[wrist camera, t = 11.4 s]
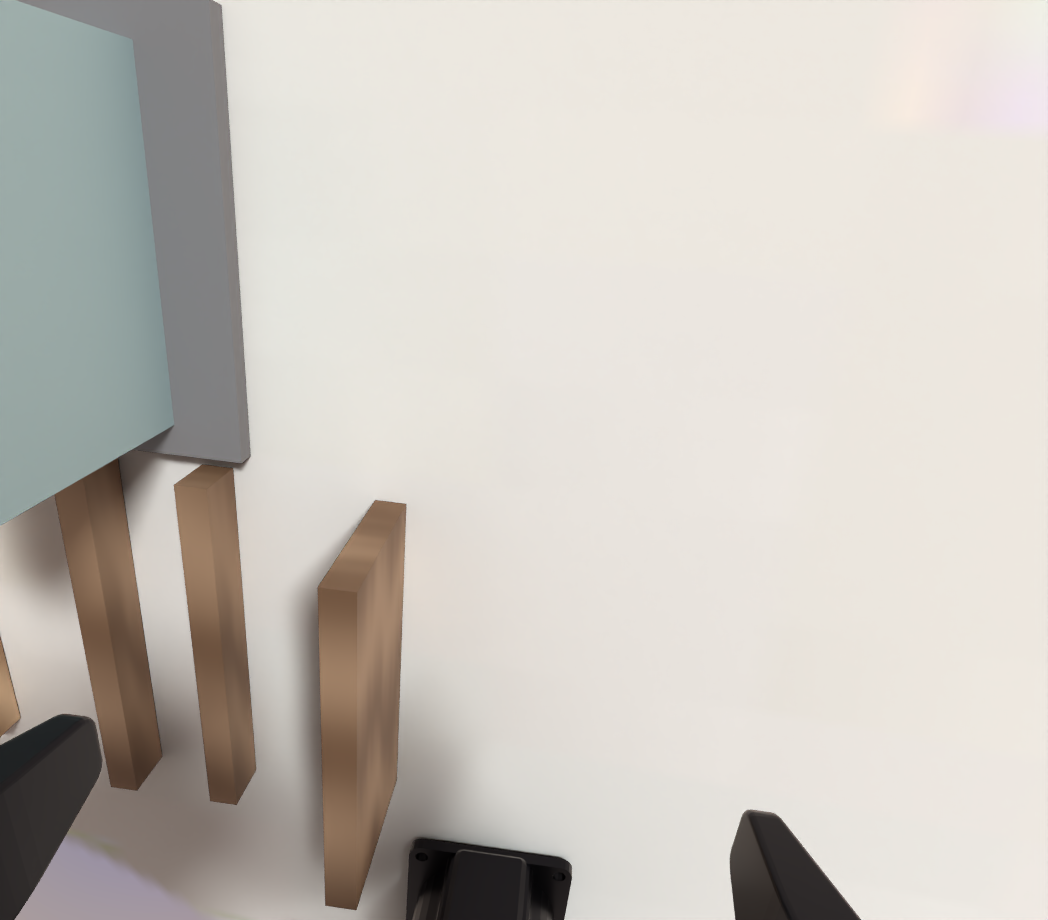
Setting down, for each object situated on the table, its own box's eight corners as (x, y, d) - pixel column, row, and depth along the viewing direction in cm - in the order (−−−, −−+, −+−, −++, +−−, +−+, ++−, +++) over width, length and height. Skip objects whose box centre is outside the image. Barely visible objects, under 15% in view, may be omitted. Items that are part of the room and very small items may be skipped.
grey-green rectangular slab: (174, 424, 20) (-65, 563, 13) (109, 417, 20) (-166, 549, 13) (132, 39, 16) (-249, -89, 9) (53, 30, 16) (-392, -103, 9)
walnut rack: (396, 789, 26) (356, 920, 21) (137, 753, 26) (42, 873, 22) (406, 489, 21) (357, 575, 16) (86, 449, 21) (-51, 522, 17)
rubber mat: (250, 456, 21) (241, 463, 20) (65, 432, 21) (52, 439, 20) (221, 4, 16) (208, -2, 16) (-16, -19, 16) (-36, -27, 16)
